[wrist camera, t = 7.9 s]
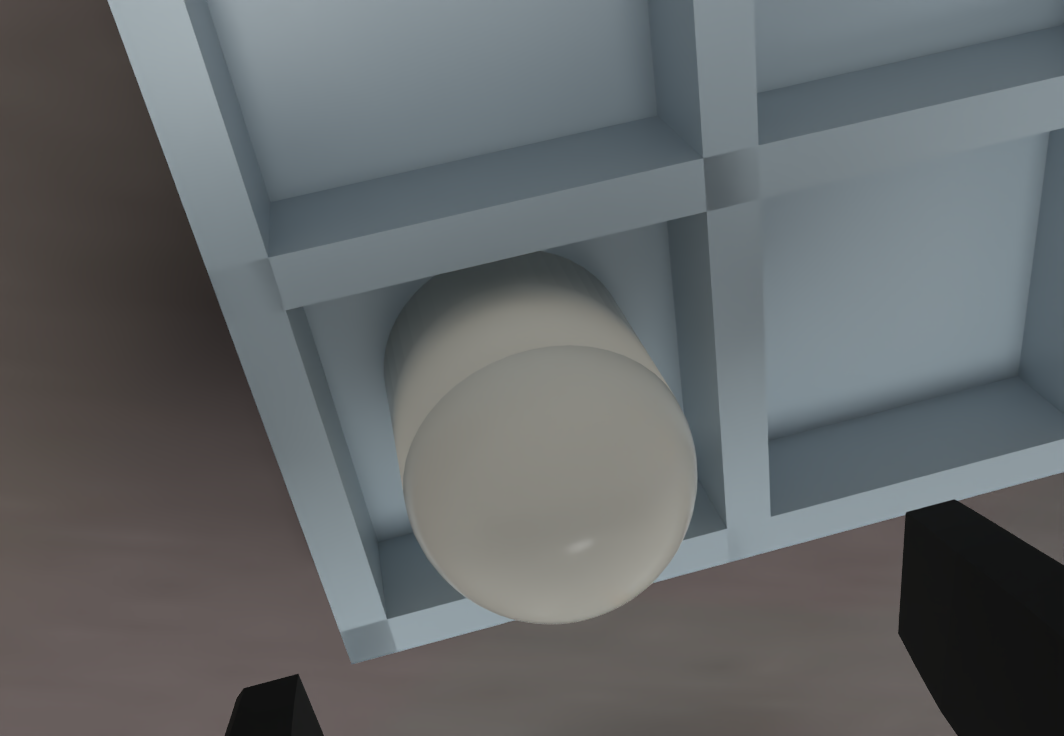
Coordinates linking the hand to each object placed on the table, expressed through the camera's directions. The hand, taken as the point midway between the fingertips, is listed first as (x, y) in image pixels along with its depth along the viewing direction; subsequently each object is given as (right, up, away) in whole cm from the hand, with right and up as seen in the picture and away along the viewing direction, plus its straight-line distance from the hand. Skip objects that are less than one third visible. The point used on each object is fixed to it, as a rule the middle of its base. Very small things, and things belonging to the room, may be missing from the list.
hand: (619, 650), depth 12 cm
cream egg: (-1, +3, +5) cm, 7 cm away
